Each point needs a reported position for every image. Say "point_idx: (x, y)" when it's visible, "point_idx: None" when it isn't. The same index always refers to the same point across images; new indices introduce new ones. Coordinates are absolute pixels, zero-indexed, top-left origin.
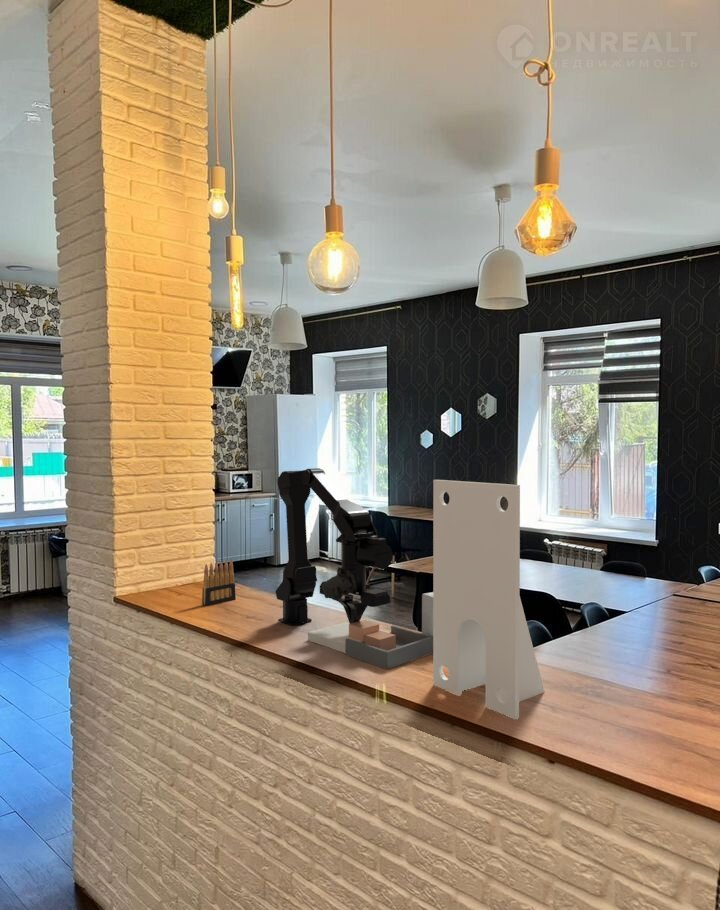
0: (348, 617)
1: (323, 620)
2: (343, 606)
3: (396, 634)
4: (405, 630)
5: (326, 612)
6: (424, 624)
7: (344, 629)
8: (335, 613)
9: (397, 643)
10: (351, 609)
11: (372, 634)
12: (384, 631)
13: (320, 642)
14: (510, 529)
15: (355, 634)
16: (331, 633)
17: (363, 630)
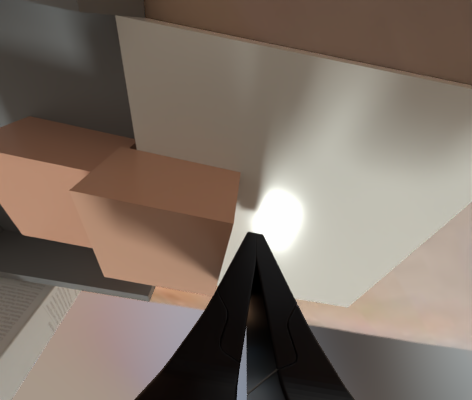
0: (279, 286)
1: (463, 303)
2: (344, 387)
3: None
4: (77, 282)
5: (465, 338)
6: (11, 315)
7: (323, 242)
8: (433, 337)
9: None
10: (229, 357)
11: None
12: None
13: (406, 72)
14: None
15: (177, 173)
16: (366, 171)
17: (78, 182)
